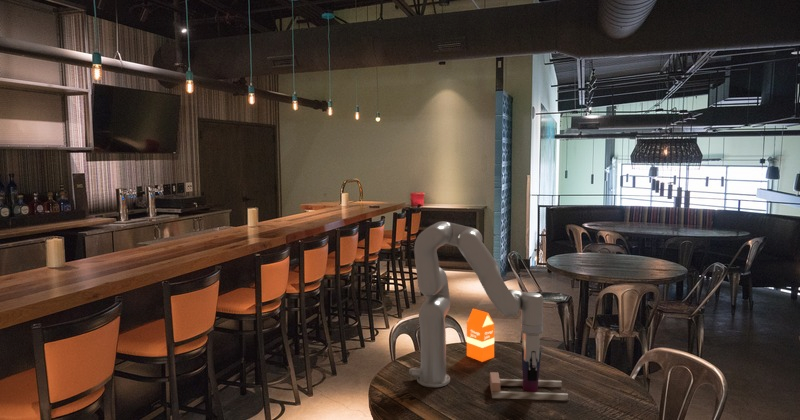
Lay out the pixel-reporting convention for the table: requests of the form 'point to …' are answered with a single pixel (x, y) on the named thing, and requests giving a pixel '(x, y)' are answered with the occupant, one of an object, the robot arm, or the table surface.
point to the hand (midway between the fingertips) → (530, 376)
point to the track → (497, 393)
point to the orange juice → (480, 336)
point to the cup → (527, 385)
